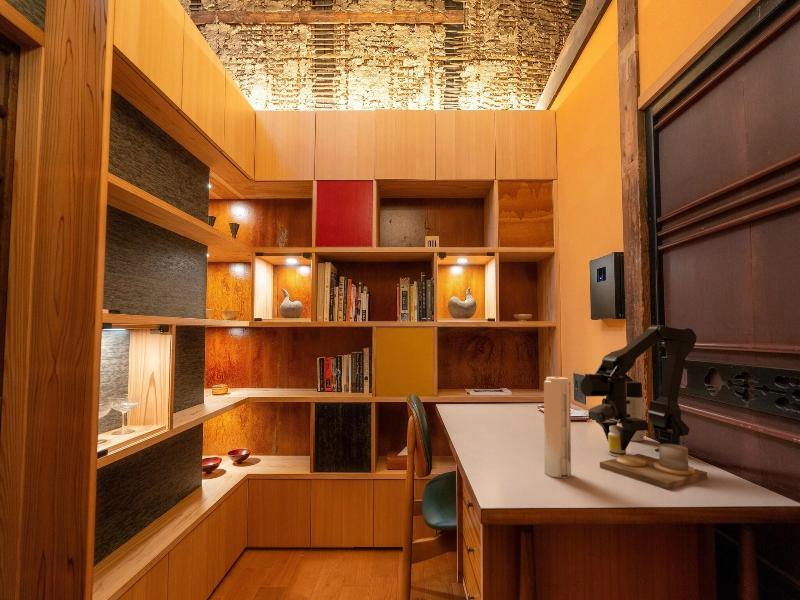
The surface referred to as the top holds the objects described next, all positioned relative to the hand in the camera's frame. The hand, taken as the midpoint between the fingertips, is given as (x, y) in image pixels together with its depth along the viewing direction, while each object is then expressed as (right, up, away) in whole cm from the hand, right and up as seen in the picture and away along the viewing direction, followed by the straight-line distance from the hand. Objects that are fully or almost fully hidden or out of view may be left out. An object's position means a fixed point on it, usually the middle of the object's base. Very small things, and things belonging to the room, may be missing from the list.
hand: (617, 447), depth 128 cm
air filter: (-25, 0, -19) cm, 31 cm away
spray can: (+15, -4, +19) cm, 25 cm away
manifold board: (+1, -1, -16) cm, 16 cm away
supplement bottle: (0, -2, 0) cm, 2 cm away
